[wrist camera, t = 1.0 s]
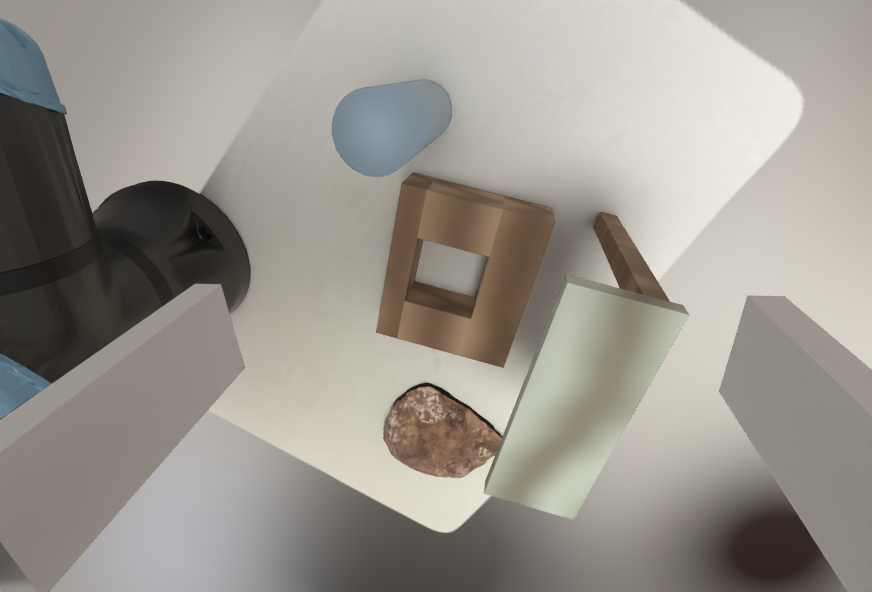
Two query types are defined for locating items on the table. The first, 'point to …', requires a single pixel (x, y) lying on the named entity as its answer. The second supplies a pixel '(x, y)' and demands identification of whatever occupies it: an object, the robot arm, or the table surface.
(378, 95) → the peg
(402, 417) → the shell
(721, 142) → the table surface
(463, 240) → the socket station
